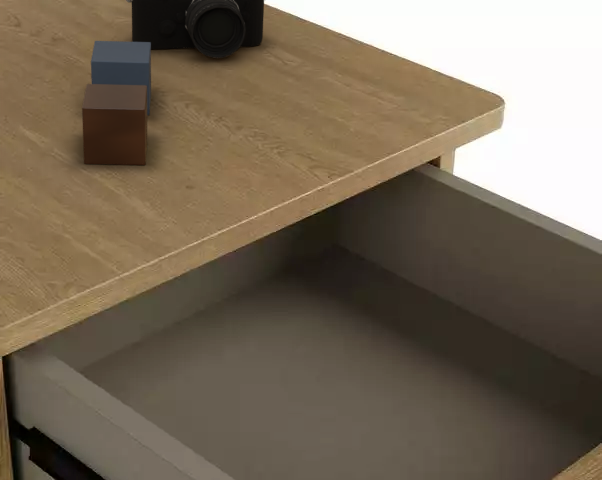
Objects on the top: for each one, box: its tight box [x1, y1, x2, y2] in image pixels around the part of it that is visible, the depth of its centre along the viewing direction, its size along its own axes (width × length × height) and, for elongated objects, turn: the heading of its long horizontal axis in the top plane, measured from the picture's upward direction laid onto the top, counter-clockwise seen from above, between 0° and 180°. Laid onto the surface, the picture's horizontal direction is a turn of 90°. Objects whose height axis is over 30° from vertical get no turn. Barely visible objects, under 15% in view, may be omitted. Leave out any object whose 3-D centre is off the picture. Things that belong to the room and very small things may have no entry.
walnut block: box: [81, 83, 148, 166], centre depth 107 cm, size 5×5×5 cm
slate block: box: [90, 40, 152, 117], centre depth 116 cm, size 5×5×5 cm
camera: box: [125, 0, 265, 59], centre depth 127 cm, size 14×7×8 cm, turn 102°
